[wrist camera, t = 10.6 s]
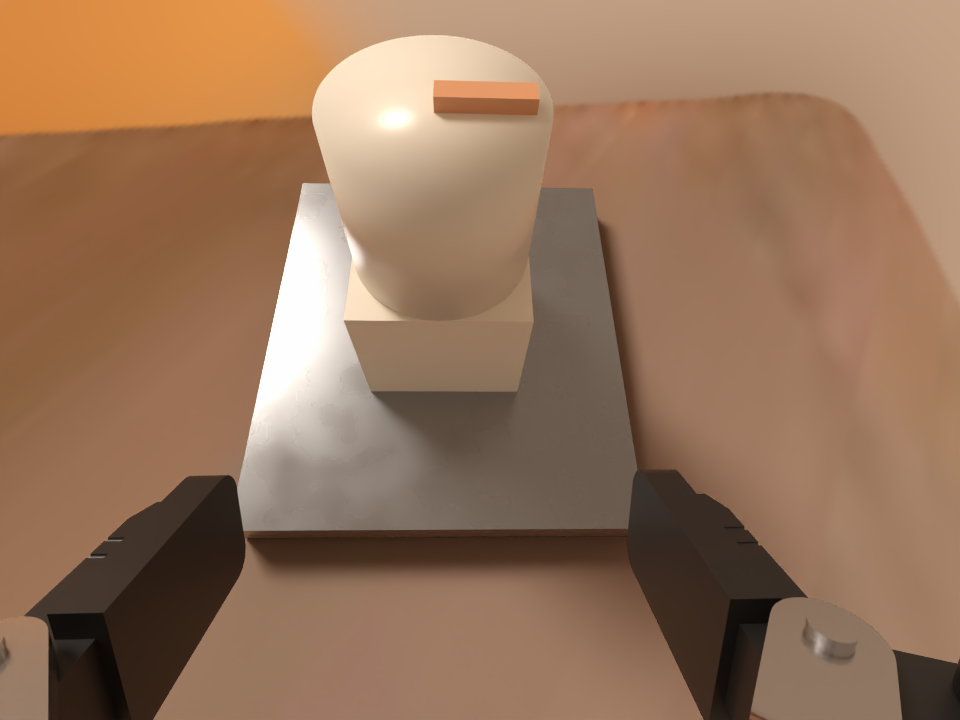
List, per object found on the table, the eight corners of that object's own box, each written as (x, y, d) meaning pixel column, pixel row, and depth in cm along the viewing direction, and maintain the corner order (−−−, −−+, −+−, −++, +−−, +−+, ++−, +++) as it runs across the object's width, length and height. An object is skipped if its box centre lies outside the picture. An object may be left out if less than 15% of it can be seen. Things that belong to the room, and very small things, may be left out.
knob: (370, 391, 19) (287, 173, 10) (382, 273, 22) (324, 15, 13) (517, 391, 19) (567, 178, 10) (511, 274, 22) (547, 21, 13)
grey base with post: (245, 537, 18) (155, 500, 13) (311, 206, 25) (272, 95, 20) (633, 535, 18) (703, 498, 13) (585, 210, 26) (617, 104, 21)
